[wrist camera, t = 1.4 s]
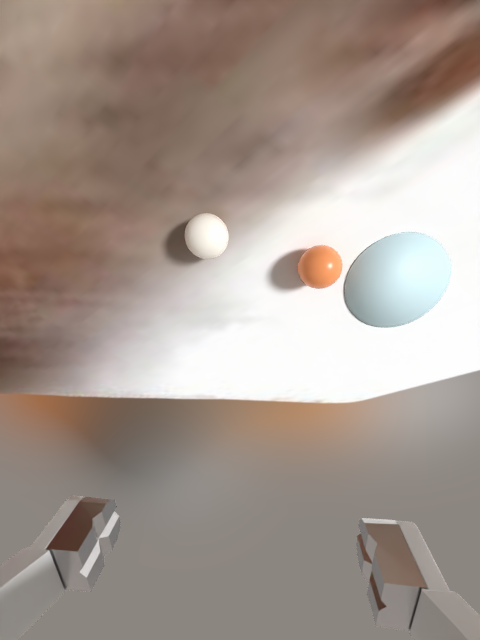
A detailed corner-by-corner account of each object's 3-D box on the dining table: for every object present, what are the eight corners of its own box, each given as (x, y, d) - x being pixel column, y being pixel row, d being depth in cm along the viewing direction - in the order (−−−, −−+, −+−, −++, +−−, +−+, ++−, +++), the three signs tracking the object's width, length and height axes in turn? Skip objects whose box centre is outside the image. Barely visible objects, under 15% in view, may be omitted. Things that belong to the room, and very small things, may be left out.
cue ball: (193, 206, 34) (183, 210, 30) (234, 217, 35) (231, 223, 30) (187, 247, 37) (176, 257, 32) (225, 258, 37) (220, 269, 32)
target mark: (373, 219, 34) (373, 219, 34) (472, 248, 35) (473, 248, 35) (329, 314, 40) (329, 314, 40) (414, 336, 41) (415, 336, 41)
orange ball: (303, 236, 35) (311, 245, 30) (342, 247, 36) (356, 257, 31) (290, 275, 38) (294, 288, 33) (326, 284, 38) (336, 299, 33)
